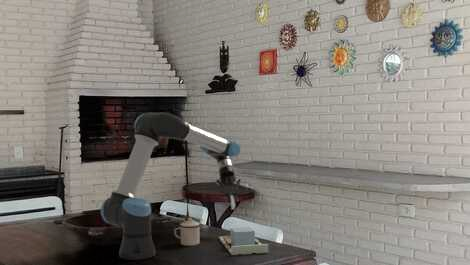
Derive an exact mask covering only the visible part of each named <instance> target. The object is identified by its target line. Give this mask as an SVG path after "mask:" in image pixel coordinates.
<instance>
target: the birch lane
mask: <svg viewBox="0 0 470 265" xmlns="http://www.w3.org/2000/svg"><path fill="white" fill-rule="evenodd" d="M218 239H220V240H219V241H220V242H221V243H222V245H223V246H224V248H226V250H227V251H228V252H229V253H230V255H231V246H230V245H229V243H227V242H226V240H225V239H231V238H230V235H224V236H223V235H221V236H218ZM255 242H256V243H257V244H262V243H261V242H260V241H259V240H258V239H257V238H256V237H255ZM256 243H255V244H256ZM257 244H256V245H257Z"/></svg>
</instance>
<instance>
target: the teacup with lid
mask: <svg viewBox="0 0 470 265" xmlns="http://www.w3.org/2000/svg"><path fill="white" fill-rule="evenodd" d="M200 225H201V224H200V223H199V222H197V221H195V220H193V218H191V217H189V218H188V220H187V221H185V222H181V223H180V224H179V226H177V227H178V228H176V227H175V228H174V231H173V232H174V234H173V235H174V236H175V237H176V238H177V239H180V244H181V245H183V246H187V247H188V246H189V247H190V246H198V245H199V244H200V227H199V226H200ZM177 230H180V235H178V234H177Z"/></svg>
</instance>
